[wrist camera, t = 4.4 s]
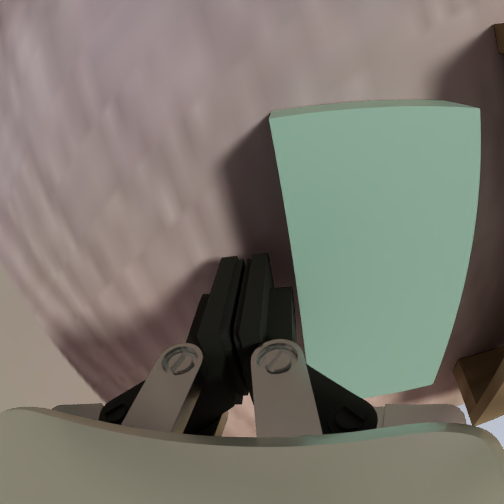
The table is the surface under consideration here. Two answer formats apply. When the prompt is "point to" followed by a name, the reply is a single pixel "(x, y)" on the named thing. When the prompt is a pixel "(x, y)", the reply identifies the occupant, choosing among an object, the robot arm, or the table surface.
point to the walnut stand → (483, 359)
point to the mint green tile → (379, 233)
